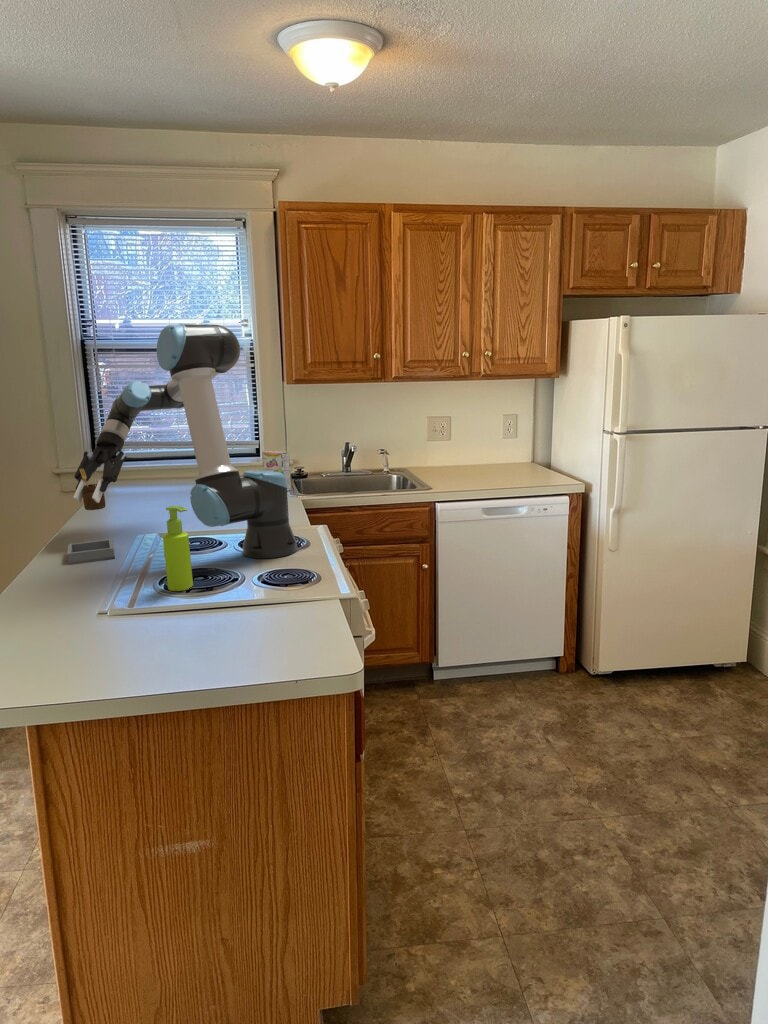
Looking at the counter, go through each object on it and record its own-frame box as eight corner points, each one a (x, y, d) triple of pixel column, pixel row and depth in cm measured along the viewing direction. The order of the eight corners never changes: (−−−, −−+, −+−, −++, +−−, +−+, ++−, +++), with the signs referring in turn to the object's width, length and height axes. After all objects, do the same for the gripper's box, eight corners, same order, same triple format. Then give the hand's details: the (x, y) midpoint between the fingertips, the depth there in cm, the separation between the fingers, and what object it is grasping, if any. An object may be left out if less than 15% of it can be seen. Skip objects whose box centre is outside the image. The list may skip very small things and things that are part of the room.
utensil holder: (96, 510, 207) (90, 470, 204) (79, 510, 209) (73, 470, 207) (110, 506, 212) (105, 467, 210) (94, 506, 215) (88, 467, 212)
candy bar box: (263, 490, 298) (261, 452, 295) (271, 488, 302) (269, 450, 299) (284, 492, 292) (281, 453, 289) (292, 490, 296) (289, 451, 293)
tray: (114, 558, 199) (113, 548, 199) (68, 564, 195) (67, 553, 194) (113, 548, 210) (112, 539, 209) (69, 554, 206) (68, 544, 205)
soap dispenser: (182, 593, 167) (174, 510, 162) (162, 589, 170) (154, 507, 166) (201, 586, 171) (193, 505, 167) (181, 582, 175) (173, 503, 171)
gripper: (144, 445, 220) (120, 507, 208) (92, 445, 224) (65, 507, 212) (133, 429, 214) (107, 493, 201) (79, 430, 218) (51, 492, 206)
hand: (86, 500), depth 207 cm, fingers closed on utensil holder, 5 cm apart
